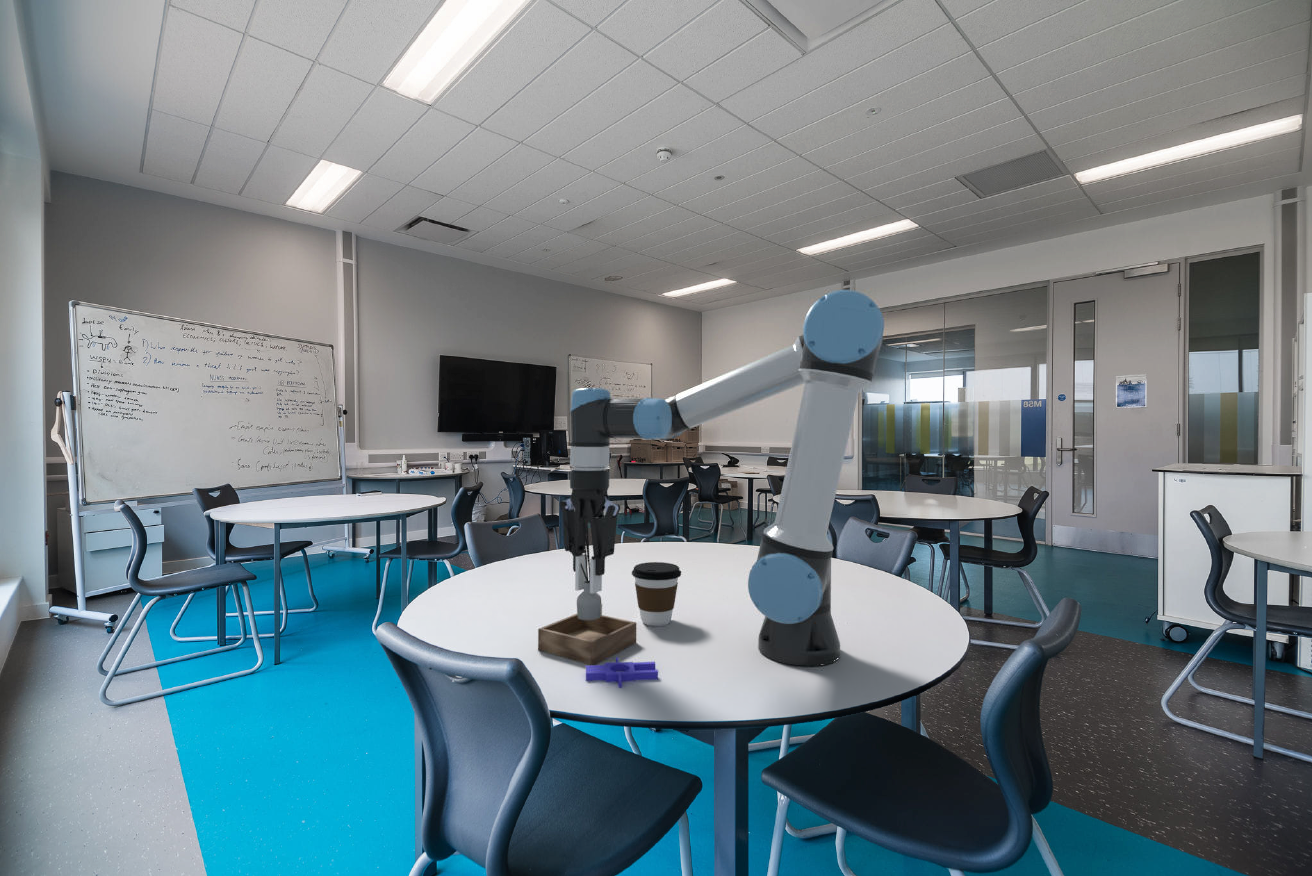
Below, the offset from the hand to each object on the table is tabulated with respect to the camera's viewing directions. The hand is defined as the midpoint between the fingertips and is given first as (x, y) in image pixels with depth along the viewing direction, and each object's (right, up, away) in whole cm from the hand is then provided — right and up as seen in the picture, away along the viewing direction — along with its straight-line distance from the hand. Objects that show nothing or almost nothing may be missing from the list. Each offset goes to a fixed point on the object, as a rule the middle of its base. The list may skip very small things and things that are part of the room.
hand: (588, 590), depth 111 cm
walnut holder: (0, -11, 0) cm, 11 cm away
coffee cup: (+13, -11, +15) cm, 23 cm away
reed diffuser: (-1, -6, 0) cm, 6 cm away
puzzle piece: (+7, -12, -13) cm, 19 cm away
